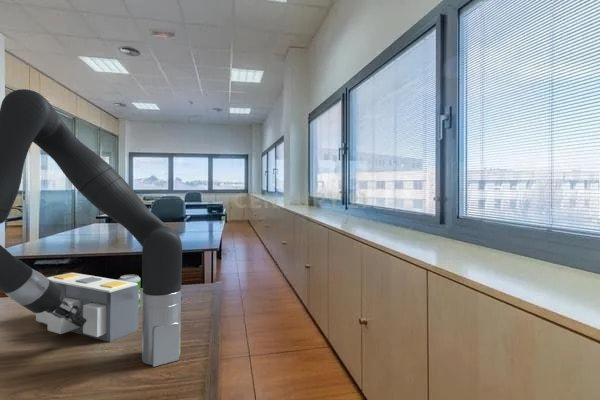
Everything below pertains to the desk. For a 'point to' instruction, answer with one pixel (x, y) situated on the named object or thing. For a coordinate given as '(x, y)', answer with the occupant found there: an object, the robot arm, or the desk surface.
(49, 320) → the middle button
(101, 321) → the near button
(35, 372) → the desk surface
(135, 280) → the soda can
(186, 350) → the desk surface
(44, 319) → the white rectangular block
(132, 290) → the button panel
